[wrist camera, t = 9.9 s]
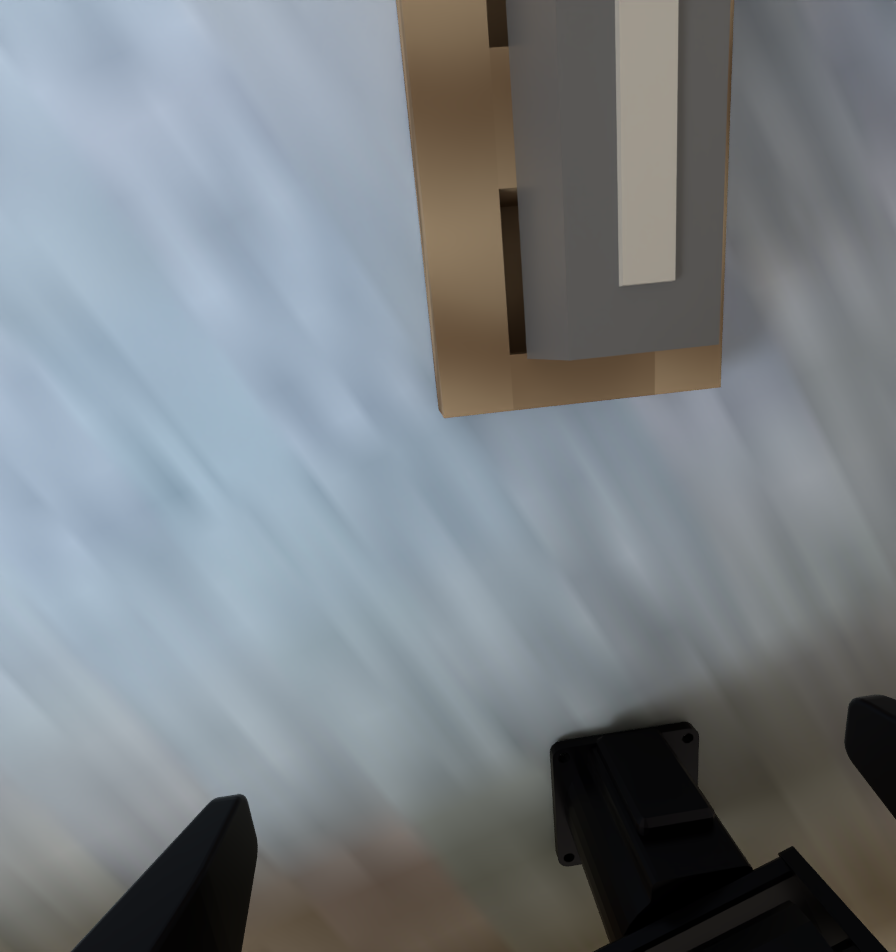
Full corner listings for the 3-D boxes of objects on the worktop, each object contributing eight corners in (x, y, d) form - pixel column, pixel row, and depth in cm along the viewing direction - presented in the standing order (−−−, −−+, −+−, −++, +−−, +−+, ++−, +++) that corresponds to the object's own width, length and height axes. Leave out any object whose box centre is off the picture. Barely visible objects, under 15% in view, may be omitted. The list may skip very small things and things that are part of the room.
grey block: (613, 347, 18) (724, 344, 12) (513, 357, 17) (572, 360, 11) (605, -119, 14) (753, -460, 8) (481, -113, 14) (541, -459, 8)
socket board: (680, 382, 18) (720, 387, 16) (438, 409, 18) (444, 418, 16) (688, -174, 14) (743, -275, 12) (379, -162, 14) (374, -265, 12)
